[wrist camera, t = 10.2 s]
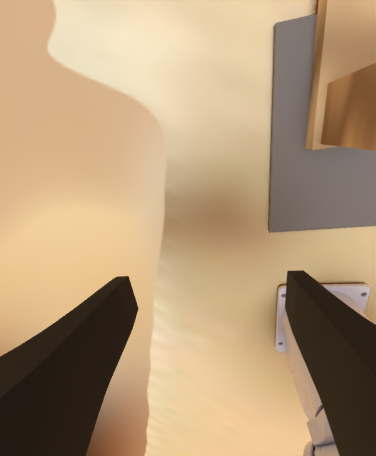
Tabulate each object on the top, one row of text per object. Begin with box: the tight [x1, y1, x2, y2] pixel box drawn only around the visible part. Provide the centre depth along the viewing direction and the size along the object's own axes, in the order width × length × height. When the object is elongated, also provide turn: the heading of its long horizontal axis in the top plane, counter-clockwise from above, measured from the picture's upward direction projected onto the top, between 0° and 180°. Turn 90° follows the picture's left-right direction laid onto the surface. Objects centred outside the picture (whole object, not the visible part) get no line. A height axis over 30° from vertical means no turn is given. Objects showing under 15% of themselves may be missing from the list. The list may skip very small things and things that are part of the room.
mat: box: [269, 14, 376, 232], centre depth 15 cm, size 14×9×1 cm, turn 8°
